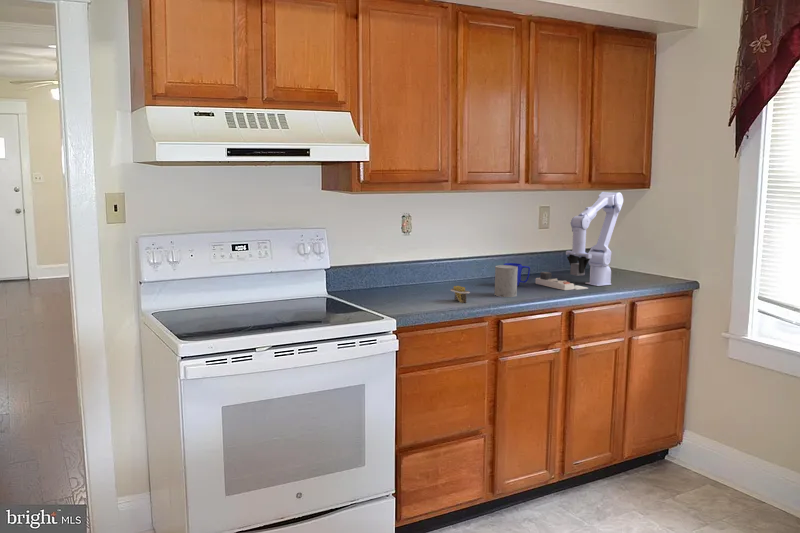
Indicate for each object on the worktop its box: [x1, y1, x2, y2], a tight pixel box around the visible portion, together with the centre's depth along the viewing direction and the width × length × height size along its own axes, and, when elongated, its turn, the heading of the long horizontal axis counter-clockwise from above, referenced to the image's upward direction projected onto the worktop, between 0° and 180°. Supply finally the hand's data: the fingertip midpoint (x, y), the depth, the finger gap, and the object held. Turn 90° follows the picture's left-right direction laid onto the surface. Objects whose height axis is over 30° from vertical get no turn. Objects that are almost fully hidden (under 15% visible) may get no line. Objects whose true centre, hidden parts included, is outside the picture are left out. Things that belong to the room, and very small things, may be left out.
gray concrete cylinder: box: [494, 264, 518, 298], centre depth 290 cm, size 10×10×12 cm
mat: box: [573, 285, 589, 291], centre depth 310 cm, size 7×7×1 cm
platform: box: [450, 285, 471, 304], centre depth 275 cm, size 12×18×7 cm, turn 30°
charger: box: [569, 262, 586, 276], centre depth 309 cm, size 4×5×5 cm
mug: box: [503, 262, 531, 287], centre depth 314 cm, size 8×12×10 cm
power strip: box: [535, 271, 575, 291], centre depth 314 cm, size 6×20×6 cm, turn 29°
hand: (577, 272), depth 309 cm, fingers closed on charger, 4 cm apart
